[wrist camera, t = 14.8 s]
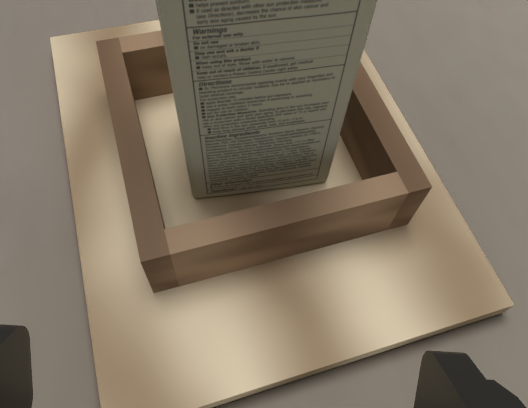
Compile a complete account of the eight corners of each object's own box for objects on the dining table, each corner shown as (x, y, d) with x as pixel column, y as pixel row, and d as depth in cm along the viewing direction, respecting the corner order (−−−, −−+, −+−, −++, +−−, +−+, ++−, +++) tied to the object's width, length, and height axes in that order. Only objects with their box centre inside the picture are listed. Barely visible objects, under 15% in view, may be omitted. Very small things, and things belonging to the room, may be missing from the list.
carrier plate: (327, 6, 29) (339, -57, 26) (502, 312, 20) (557, 276, 16) (56, 52, 26) (29, -14, 23) (111, 440, 17) (79, 428, 13)
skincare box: (306, 112, 24) (362, -186, 13) (329, 187, 21) (417, -98, 11) (178, 125, 23) (129, -180, 12) (187, 205, 21) (138, -84, 10)
